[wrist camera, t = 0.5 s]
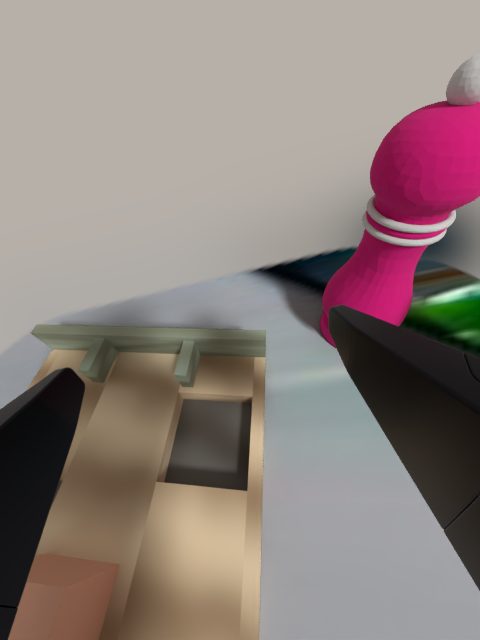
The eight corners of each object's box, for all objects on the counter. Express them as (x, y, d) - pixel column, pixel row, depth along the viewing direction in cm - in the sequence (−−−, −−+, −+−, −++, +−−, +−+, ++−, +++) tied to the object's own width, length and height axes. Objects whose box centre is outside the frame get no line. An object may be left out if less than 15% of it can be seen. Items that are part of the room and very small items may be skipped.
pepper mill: (301, 318, 27) (356, 60, 11) (352, 295, 29) (461, 39, 13) (346, 370, 23) (532, 75, 7) (402, 339, 24) (656, 41, 9)
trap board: (253, 870, 10) (246, 1116, 6) (-168, 751, 12) (-369, 867, 8) (265, 358, 24) (265, 330, 20) (70, 350, 27) (36, 324, 23)
